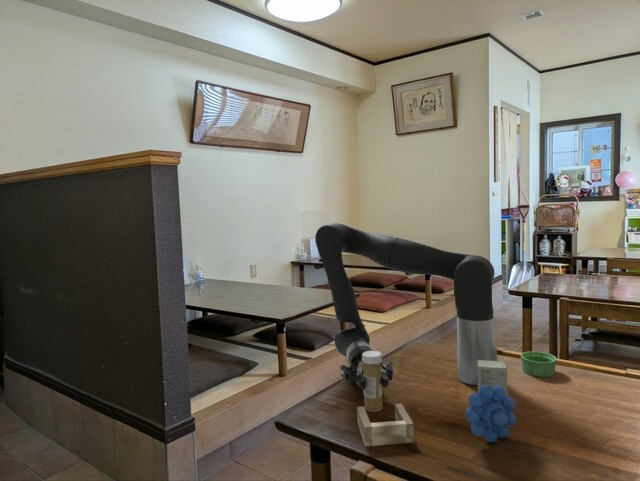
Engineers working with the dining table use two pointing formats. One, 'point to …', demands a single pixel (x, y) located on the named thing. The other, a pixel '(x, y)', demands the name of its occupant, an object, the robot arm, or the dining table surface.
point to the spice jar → (372, 381)
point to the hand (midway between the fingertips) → (374, 384)
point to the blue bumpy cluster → (491, 413)
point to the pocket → (386, 428)
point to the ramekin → (538, 363)
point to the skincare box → (492, 374)
